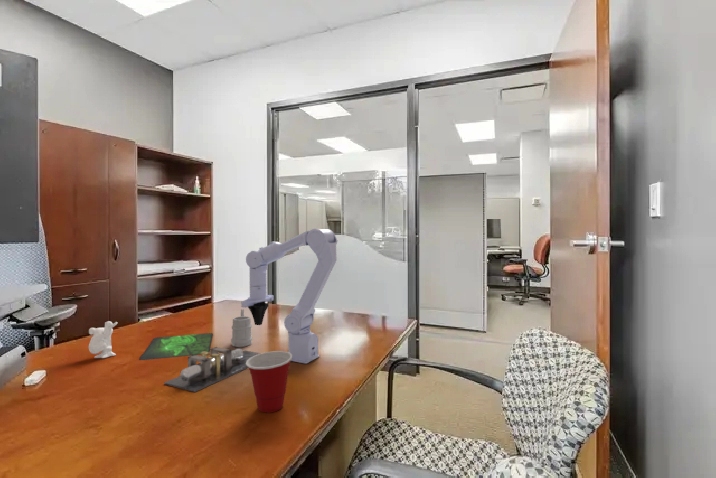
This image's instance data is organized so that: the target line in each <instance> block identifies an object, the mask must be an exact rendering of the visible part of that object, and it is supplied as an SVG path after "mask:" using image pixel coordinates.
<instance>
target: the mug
mask: <svg viewBox="0 0 716 478" xmlns="http://www.w3.org/2000/svg"><path fill="white" fill-rule="evenodd" d="M251 318H252V317H251V316H246V315H245V309H244V308H241V309H240V316H235V317H233V318H232V325H231V330H232V331H231V332H232V334H231V339H230V342H231V346H232V347H236V348H237V347H238V348H243V347H247V346H251V345H252V341H253V337H252V323H251V322H252V321H251V320H252V319H251Z"/></svg>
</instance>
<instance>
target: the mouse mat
mask: <svg viewBox="0 0 716 478" xmlns="http://www.w3.org/2000/svg"><path fill="white" fill-rule="evenodd" d="M213 336H214V333H212V332H211V333H210V332H209V333H208V332H207V333H206V332H205V333H191V334H183V335H182V334H181V335H167V336H157V337H153V339H152V341H151V342H150V343H149V344H148V346H147V347H146V348H145V350H144V352H142V354H141V356H140V357H139V359H138V360H140V361H147V360H148V361H149V360H150V361H151V360H159V359H168V358H179V357H189V356H192V355H198V356H201V352H204V351H205V352H209V353H211V350H210V349H212V348H211V345H212V341H213Z"/></svg>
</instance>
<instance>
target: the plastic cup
mask: <svg viewBox="0 0 716 478" xmlns="http://www.w3.org/2000/svg"><path fill="white" fill-rule="evenodd" d="M291 360H292V354H291V353H289V352H288V351H286V350H285V351H284V350H274V351H267V352H261V354H258V355H255V356H253V357H251V358H249V359H248V360H247V361H246V365H247V366H248V368H247V369H248V370H249V372H250V376H251V380H252V385H253V392H254V396H255V400H256V406H257V409H258V411H259V412H262V413H265V414H266V413H273V412H274V413H275V412H277V411H279V410H281V409H282V408H283V405H284V401H285V394H286V391H287V382H288V375H289V371H290V366H291V365H290V364H291V362H292V361H291Z"/></svg>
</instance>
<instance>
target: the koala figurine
mask: <svg viewBox="0 0 716 478" xmlns="http://www.w3.org/2000/svg"><path fill="white" fill-rule="evenodd" d="M117 324H118V322H117V321H115V322H114V323H113V322H112V321H110V320H108V321H106V322H104V327H97V328H96V327H90V328H89V329H88V334H89V335H92V337H91V338H90V341H89V344H88V350H89V352H90V354H92V355H94V359H106V358H109V357H113V356H116V355H117V354H116V353H115V352H113V351H112V348H113V347H112V334H113V333H114V329H113V328H114V327H115V326H117Z"/></svg>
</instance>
